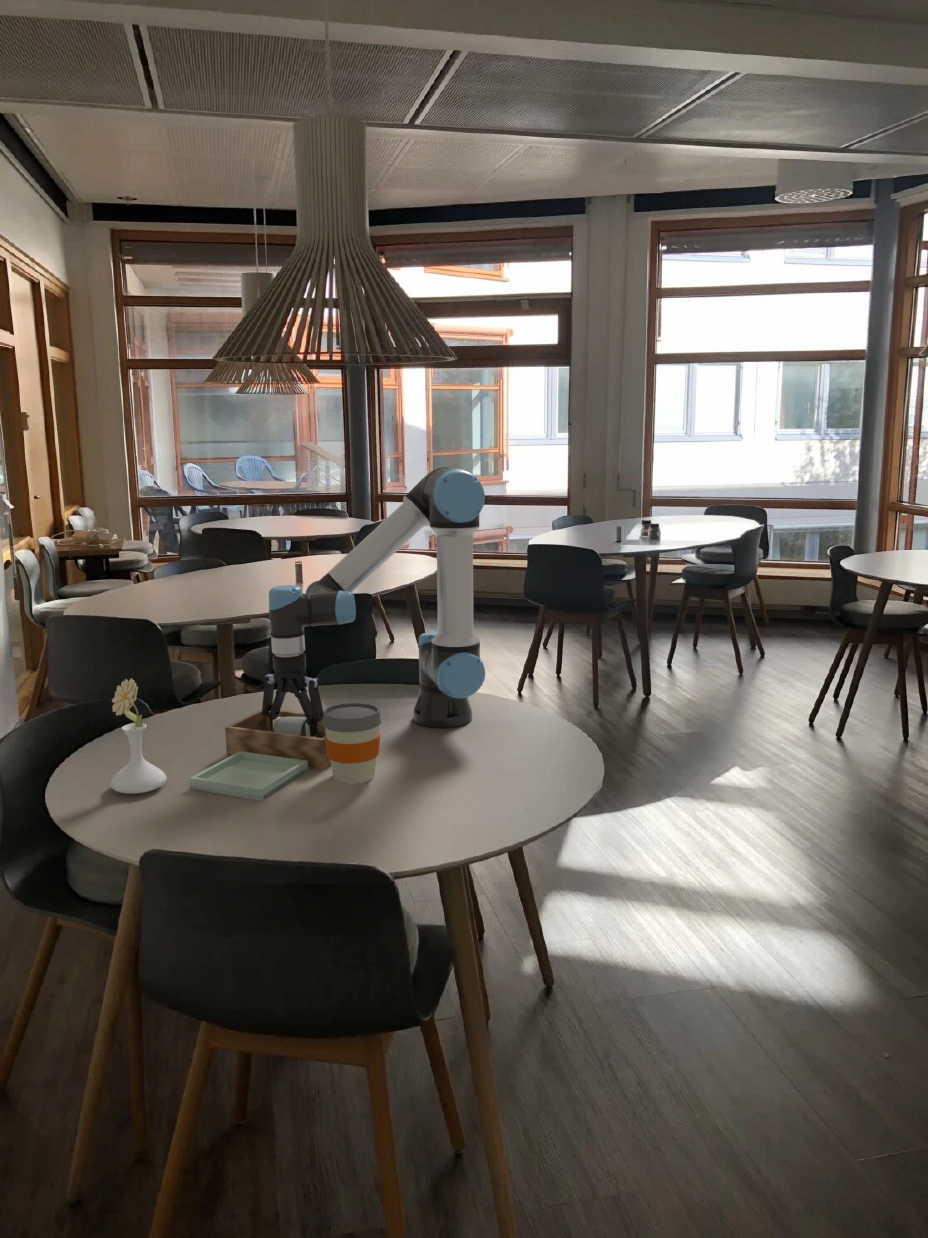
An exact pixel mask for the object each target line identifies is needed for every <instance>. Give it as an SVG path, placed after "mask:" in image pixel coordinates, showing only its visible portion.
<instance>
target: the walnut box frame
mask: <svg viewBox="0 0 928 1238" xmlns="http://www.w3.org/2000/svg"><path fill="white" fill-rule="evenodd" d="M279 714H280V715H279V716H277V717H306V716H305V714H304V712H303V711H302V712H300V711H292V710H283V709H280V712H279ZM317 731H318V733H317V736H316V737H308V736H300V735H293V734H285V733H277V732H271V728H270V719H269V717H267V716H263V715H262V708H260V710H257V711H255V712H254V713H252V714H250V715H247V716H245V717H243V718H241V719H239V720H237V721H235V722H233V723H231V724H229V725H227V726H225V728H224V732H225V744H226V745H225V746H226V757H230V756H231V755H233V754H235V753H237V752H239V751H242V752H249V753H256V754H263V755H270V756H277V757H284V758H292V759H299V760H306V761H308V769H313V770H314V769H315V770H320V771H325V770H327V769H328V768H330V767H332V766H331V761H330V759H329V758H328V754H327V749H326V743H325V735H326V732H325V727H324V726H323V719H322V720H320V721H319V722H317Z"/></svg>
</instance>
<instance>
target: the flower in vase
mask: <svg viewBox="0 0 928 1238" xmlns="http://www.w3.org/2000/svg"><path fill="white" fill-rule="evenodd" d="M138 689H139V686H137V683H136V682H135V680H134V679H133V678H130V679H129V680H128V679H127V678H125V679H124V680H123V681H121V684H120V685H117V686H116V691H115V692H114V697H113V698H112V699H111V702H112V703H113V705H112V712H113V713H115V715H116V716H121V715H122V714H124V715H125V717H126V718H127V719H129V720H131V721H132V722H135V723H129V724H125V725H123V726H121V730H122V731H123V733H125V735H126V736H127V739H128V742H129V749H130V759H129V761H128V763H127V764H126V765H125V766H123V767H122V768H121V769H120V770H119V771H118V772H117V773H116V774H115V775H114V776H113V777H112V779H111V780H110V781H111V782H110V787H111V789H113V790H114V792H115V791H116V792H117V793H122V794H127V795H128V794H129V795H130V794H131V795H132V794H135V795H136V794H144V793H148V792H152V791H153V790H156V789H159V788H161V787H162V786H163V785H164V784H165V783H166V781H167V779H168V778H167V775H166V773H165V772H164V771H163V770H161V769H160V768H159V767H157V766H155V765H153V764H152V763H150V762H149V761H147V760H146V759H145V758H144V756H143V751H142V743H143V742H142V739H143V735H144V734H143V733H144V731H145V730H146V728H147V724H146V723H143V719H142V718H143V715H142V714H140V715H139V711H138V708H137V706H136V705H135V703H134V702H135V701H137V696H138V691H139V690H138ZM131 707H133V709H135V712H136V714H135V713H133V712H132V711H130V709H131Z"/></svg>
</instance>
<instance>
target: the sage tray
mask: <svg viewBox="0 0 928 1238" xmlns="http://www.w3.org/2000/svg"><path fill="white" fill-rule="evenodd" d="M308 772H309V768H308V761H306V760H299V759H292V758H284V757H277V756H270V755H263V754H256V753H249V752H242V751H239V752H237V753H235V754H233V755H231V756H227V757H226V758H224V759H222V760H221V761H219V762H217V763H214V764H213V765H212V766H210V767H207V768H206V769H204V770H201V771H200V772H198V773H196V774H195V775H192V776H191V777H190V778H189V788H190V790H191V791H192V790H193V791H199V792H204V793H212V794H217V795H223V796H229V797H236V798H241V799H248V800H254V801H259V802H263V801H265V800H266V799H267V798H270V796H272V795H274V794H275V793H276V792H279V791H280V790H283V788H285V787H286V786H288V785H290V784H291V783H292V782H294V781H295V780H297V779H299V778H301V777H302V776H303V775H305V774H306V773H308Z"/></svg>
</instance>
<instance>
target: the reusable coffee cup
mask: <svg viewBox="0 0 928 1238" xmlns="http://www.w3.org/2000/svg"><path fill="white" fill-rule="evenodd" d="M323 712H324V714H323V726H324V727H325V732H326V735H325V743H326V749H327V754H328V758H329V759H330V761H331V766H330V767H331V771H332V776H333V777H332V778H333V780H334V781H335V782H338V783H340V784H346V785H357V784H365V783H367V782H370V781H372V780H373V779H374V777H375V773H376V763H377V757H378V756H379V751H380V743H381V742H380V741H381V733H380V725H381V724H382V719H381V718H382V717H381V711H380V708H379V707H378V706H377V705H376V704H375V705H374V704H372V703H368V702H344V703H338V704H333V705H331V706H328V707H326V708H325V709H323Z"/></svg>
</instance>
